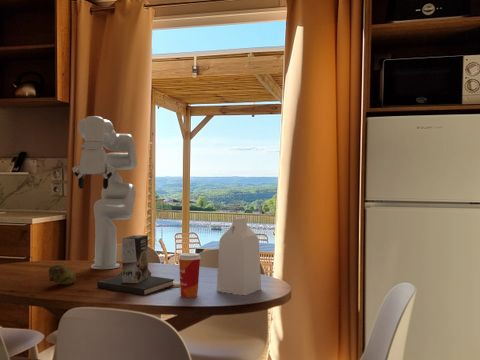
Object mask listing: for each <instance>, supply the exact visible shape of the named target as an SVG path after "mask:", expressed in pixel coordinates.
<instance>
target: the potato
mask: <svg viewBox="0 0 480 360" xmlns="http://www.w3.org/2000/svg"><path fill="white" fill-rule="evenodd" d="M47 271H48V277H49V281H50V282H54V283H57V284H61V285H64V286H66V285H71V284H73V283H74V282H75V280H76V279H77V276H76V272H75V271H74V270H72V269H70V268H68V267H67V266H66V265H63V264H55V265H52V266H51V267H49V268H48V270H47Z"/></svg>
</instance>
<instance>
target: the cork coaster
mask: <svg viewBox="0 0 480 360" xmlns="http://www.w3.org/2000/svg"><path fill="white" fill-rule="evenodd" d="M173 285H174V286H171V287H170V288H175V289H176V288H180V281H173Z"/></svg>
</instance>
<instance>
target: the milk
mask: <svg viewBox="0 0 480 360" xmlns="http://www.w3.org/2000/svg"><path fill="white" fill-rule="evenodd" d="M232 220H233V221H232V224H231V227H229V229H227V230H226V231H225V233H223V234H222V235H221V237H220V238H219V241H218V242H219V243H218V259H217V273H216V275H217V277H216V292H218V291H222V292H221V293H224V292H227V293H226V294H230V293H233V294H232V295H236V294H239V295H238V296H242V295H245V296H247V295H249V293H250V294H252V292H253V293H255V292H258V291H260V290H261V289H262V277H261V275H262V274H261V255H260V254H261V253H260V239H259V236H258V235H257V234H256V233H255V232H254V231H253V230H252V229H251V228H250V226H248V224H247V218H246V217H235V218H233V219H232ZM257 290H258V291H257Z"/></svg>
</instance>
